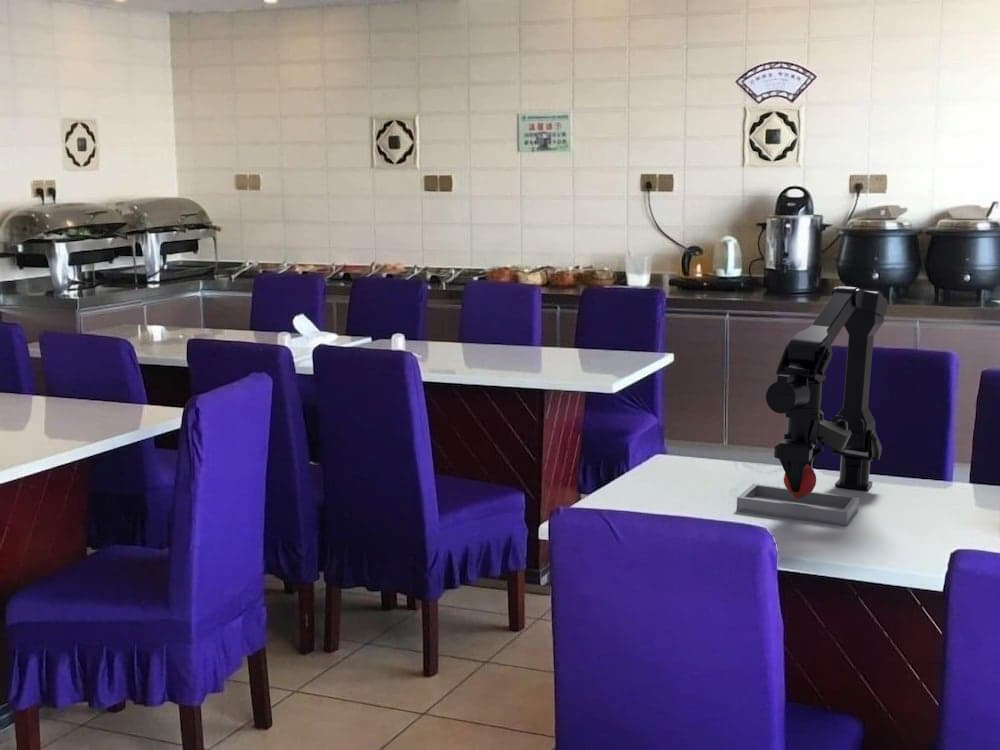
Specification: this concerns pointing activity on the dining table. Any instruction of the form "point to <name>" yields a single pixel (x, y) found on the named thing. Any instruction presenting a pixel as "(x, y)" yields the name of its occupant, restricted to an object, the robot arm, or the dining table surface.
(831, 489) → the dining table surface
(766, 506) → the tray
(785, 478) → the onion
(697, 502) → the dining table surface
